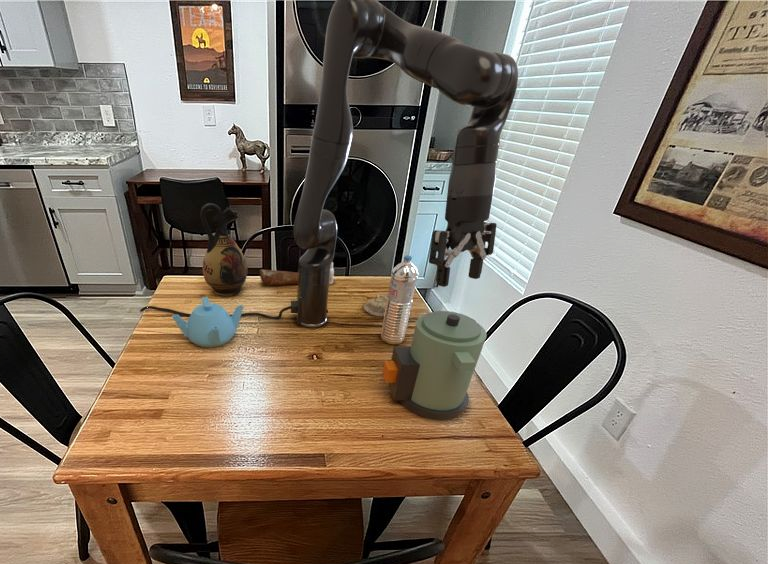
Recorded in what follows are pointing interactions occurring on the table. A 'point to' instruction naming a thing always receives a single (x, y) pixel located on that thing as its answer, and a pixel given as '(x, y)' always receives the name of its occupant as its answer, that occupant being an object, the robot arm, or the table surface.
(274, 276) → the bread
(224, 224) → the ceramic jug
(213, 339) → the teapot
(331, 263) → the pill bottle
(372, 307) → the cake
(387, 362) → the switch
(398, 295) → the water bottle
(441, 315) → the kettle
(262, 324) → the table surface
